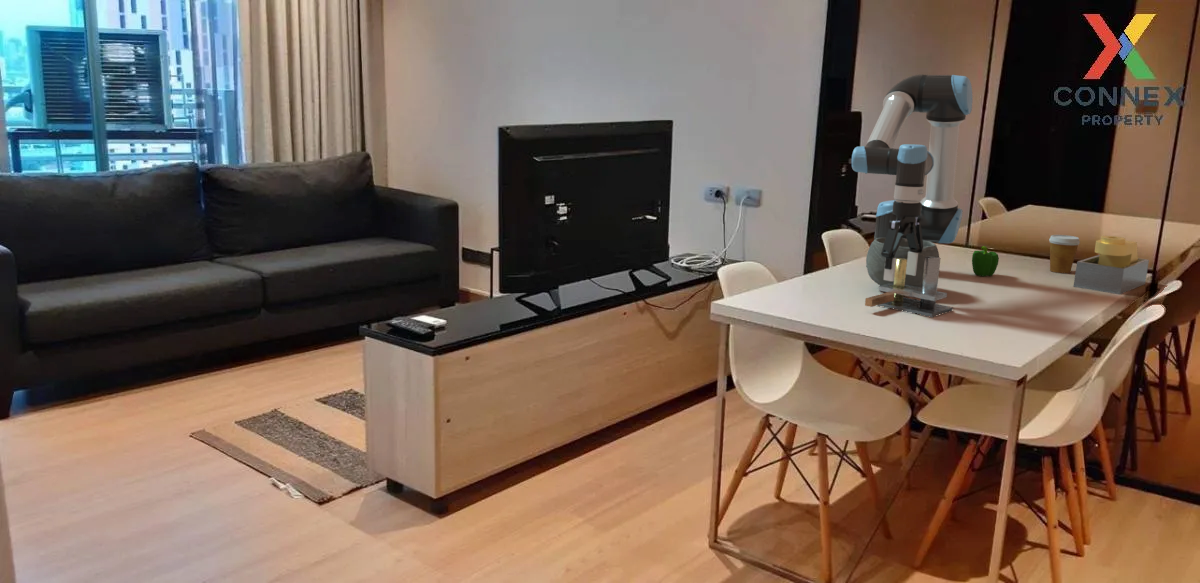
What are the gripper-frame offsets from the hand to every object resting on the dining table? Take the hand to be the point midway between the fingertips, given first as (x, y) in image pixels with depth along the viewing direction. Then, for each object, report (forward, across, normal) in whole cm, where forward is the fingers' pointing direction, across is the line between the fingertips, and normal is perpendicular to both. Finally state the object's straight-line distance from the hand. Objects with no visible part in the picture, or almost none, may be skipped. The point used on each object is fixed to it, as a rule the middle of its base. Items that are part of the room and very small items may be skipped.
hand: (899, 277), depth 262 cm
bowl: (+8, +18, +9) cm, 22 cm away
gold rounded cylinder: (+7, 0, 0) cm, 7 cm away
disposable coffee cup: (+8, +91, -11) cm, 92 cm away
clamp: (+8, +82, -30) cm, 88 cm away
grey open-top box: (+8, +81, -30) cm, 87 cm away
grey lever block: (+8, -5, -5) cm, 10 cm away
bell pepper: (+8, +62, +3) cm, 63 cm away
